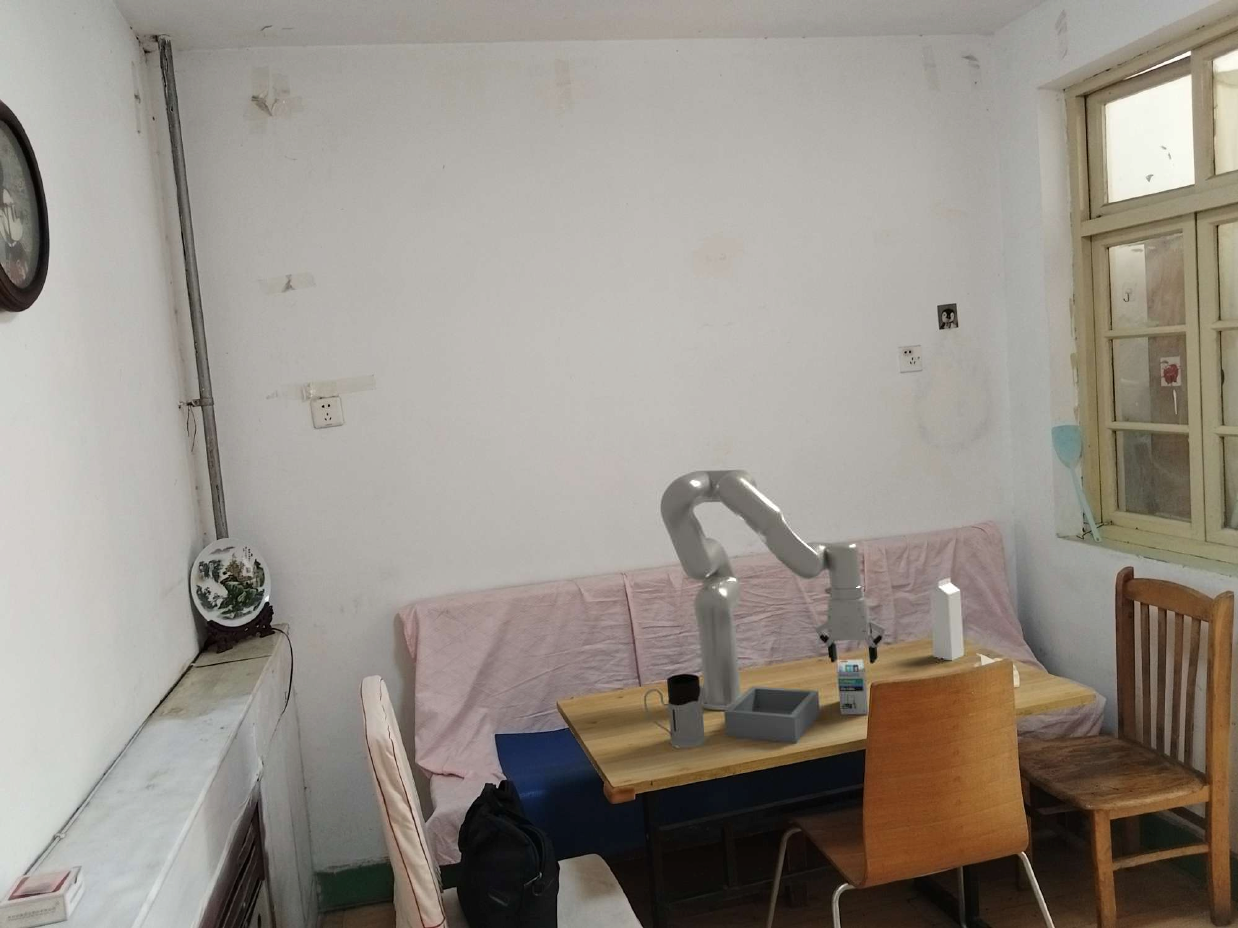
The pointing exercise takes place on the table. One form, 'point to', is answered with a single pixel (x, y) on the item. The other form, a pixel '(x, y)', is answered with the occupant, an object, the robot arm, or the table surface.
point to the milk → (946, 621)
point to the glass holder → (684, 711)
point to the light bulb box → (852, 687)
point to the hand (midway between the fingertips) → (853, 661)
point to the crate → (772, 714)
